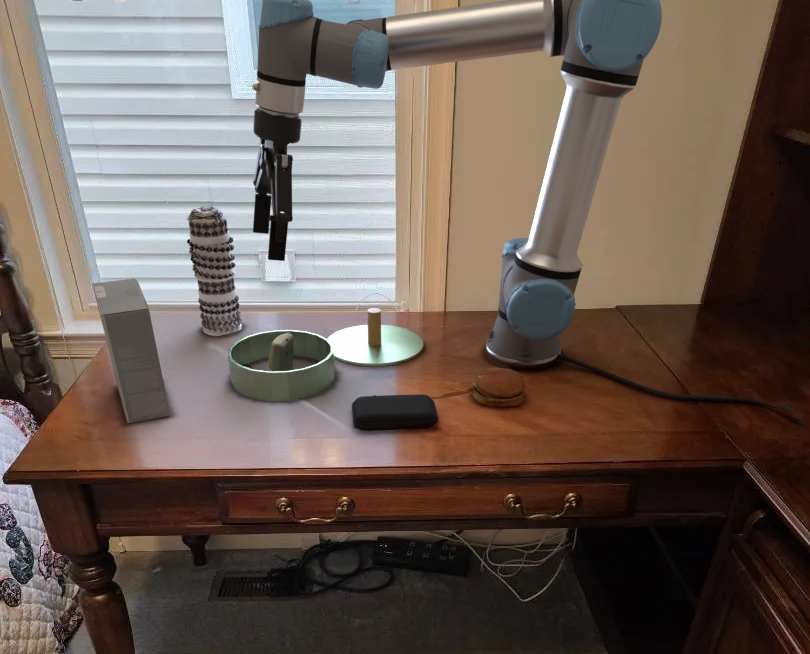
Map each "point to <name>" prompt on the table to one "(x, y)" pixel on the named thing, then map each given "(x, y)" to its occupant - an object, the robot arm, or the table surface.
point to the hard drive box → (132, 349)
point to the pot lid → (375, 343)
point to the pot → (281, 382)
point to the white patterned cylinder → (214, 270)
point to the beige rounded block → (281, 353)
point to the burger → (499, 387)
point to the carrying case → (394, 412)
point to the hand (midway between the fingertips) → (268, 245)
